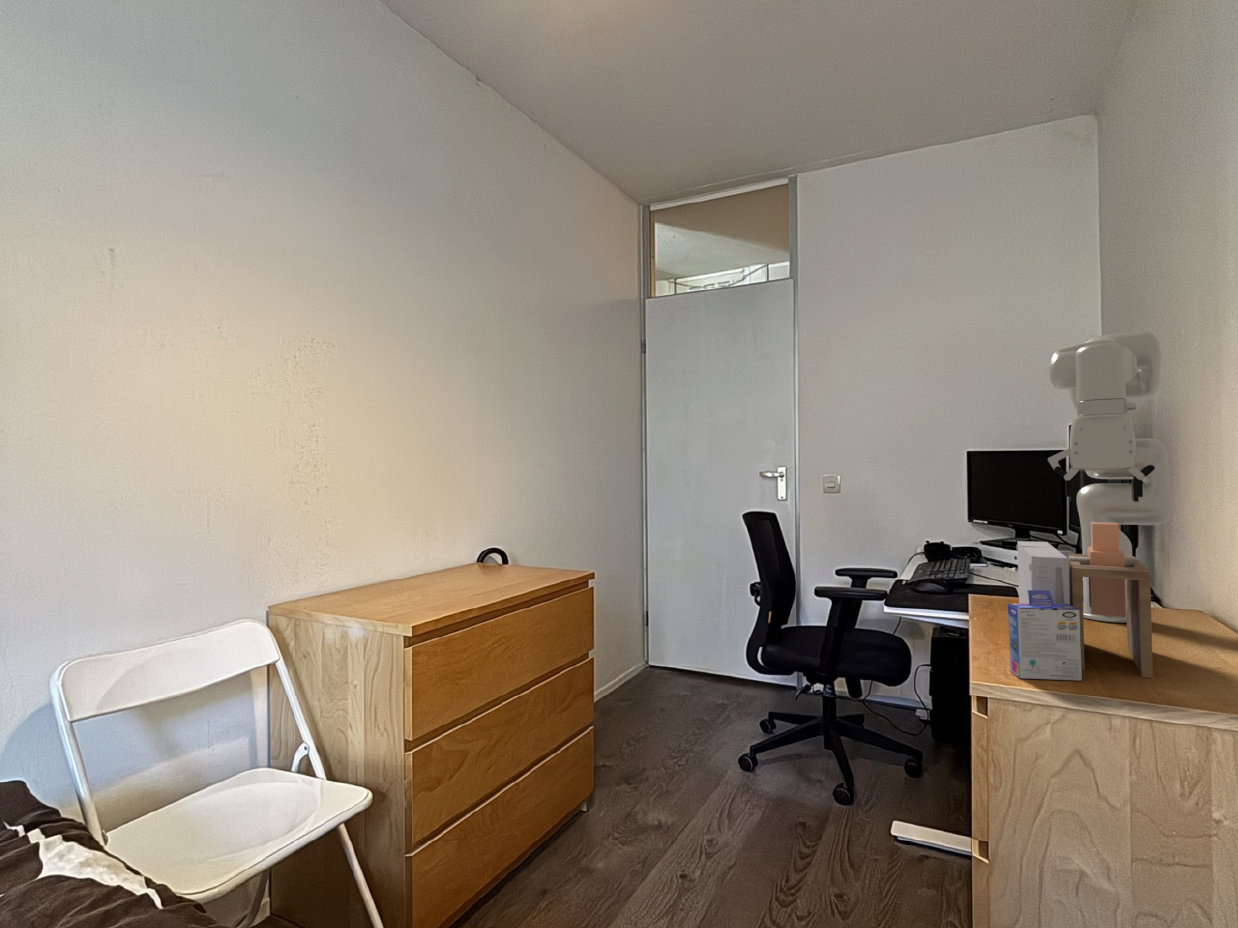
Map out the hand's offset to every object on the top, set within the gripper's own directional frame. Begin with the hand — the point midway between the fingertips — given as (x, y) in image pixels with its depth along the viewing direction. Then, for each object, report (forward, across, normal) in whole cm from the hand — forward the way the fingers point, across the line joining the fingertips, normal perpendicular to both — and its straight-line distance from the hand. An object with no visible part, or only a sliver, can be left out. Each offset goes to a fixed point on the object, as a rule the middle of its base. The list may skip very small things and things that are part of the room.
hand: (1103, 500), depth 126 cm
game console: (+30, +10, 0) cm, 31 cm away
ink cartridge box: (+29, +10, +19) cm, 36 cm away
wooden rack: (+29, 0, +1) cm, 29 cm away
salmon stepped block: (+21, 0, +1) cm, 21 cm away
